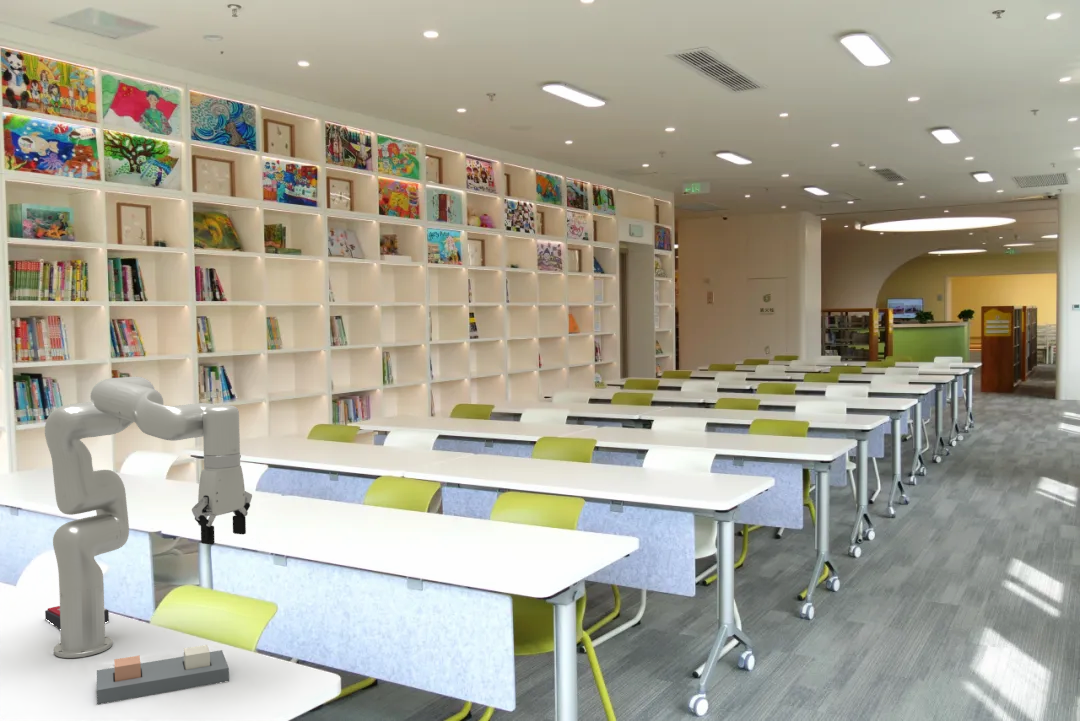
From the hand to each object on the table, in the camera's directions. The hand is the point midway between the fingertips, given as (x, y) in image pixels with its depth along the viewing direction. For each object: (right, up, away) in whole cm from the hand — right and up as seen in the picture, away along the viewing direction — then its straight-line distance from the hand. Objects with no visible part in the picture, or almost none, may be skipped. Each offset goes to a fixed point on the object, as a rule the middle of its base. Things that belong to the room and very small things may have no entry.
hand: (223, 538), depth 196 cm
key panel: (-13, -31, -1) cm, 34 cm away
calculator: (-53, -31, +40) cm, 73 cm away
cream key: (-7, -29, +2) cm, 30 cm away
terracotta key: (-19, -30, -5) cm, 35 cm away
